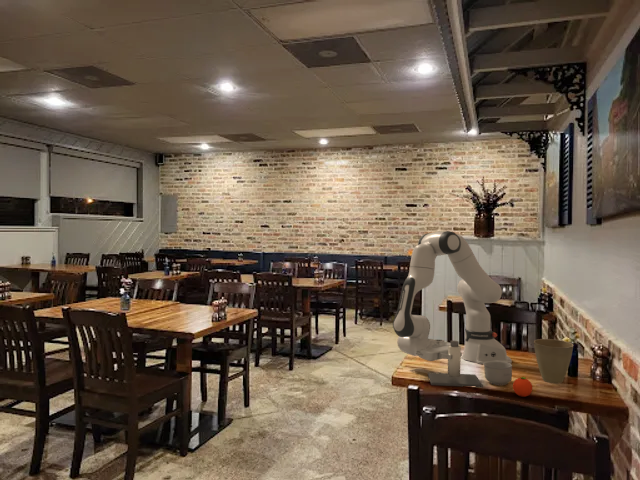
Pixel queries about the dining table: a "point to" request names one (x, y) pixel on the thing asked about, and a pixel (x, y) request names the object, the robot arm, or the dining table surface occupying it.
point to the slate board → (454, 380)
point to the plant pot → (553, 358)
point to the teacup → (498, 372)
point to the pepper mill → (454, 359)
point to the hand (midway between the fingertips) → (456, 356)
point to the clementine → (522, 387)
